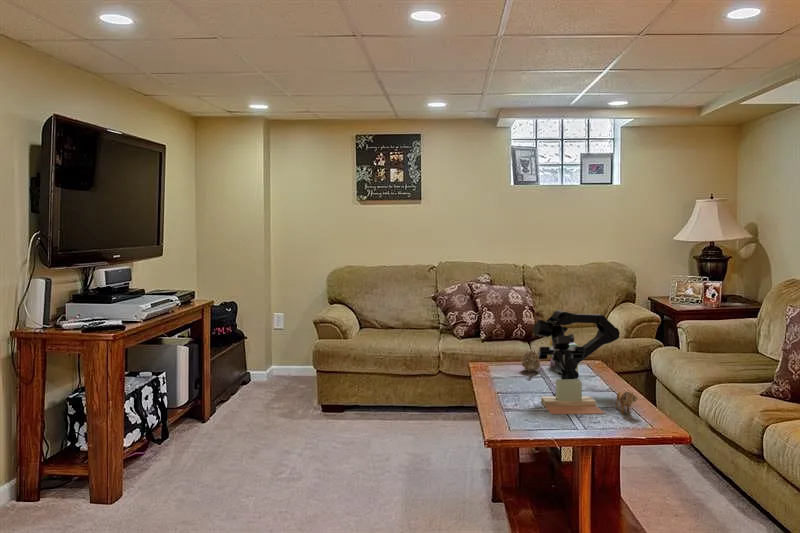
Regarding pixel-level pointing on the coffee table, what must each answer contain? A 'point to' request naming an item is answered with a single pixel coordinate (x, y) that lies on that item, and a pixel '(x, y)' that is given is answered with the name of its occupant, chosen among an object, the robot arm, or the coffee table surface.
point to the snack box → (571, 347)
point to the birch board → (568, 402)
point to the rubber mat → (574, 410)
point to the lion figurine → (625, 400)
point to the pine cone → (530, 361)
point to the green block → (568, 390)
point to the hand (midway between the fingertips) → (565, 370)
